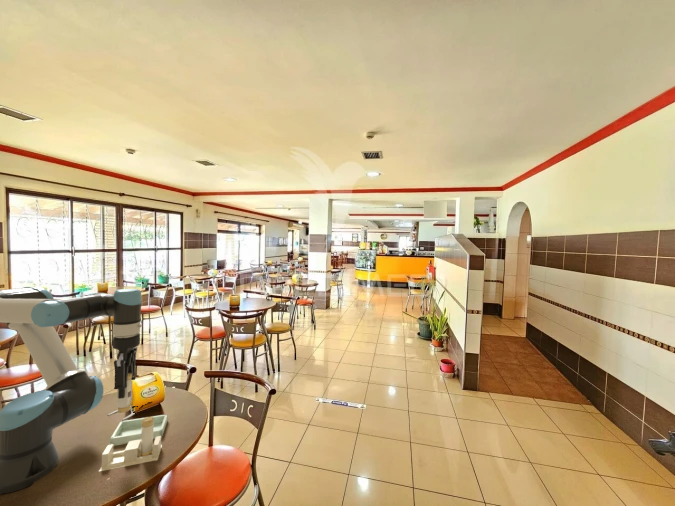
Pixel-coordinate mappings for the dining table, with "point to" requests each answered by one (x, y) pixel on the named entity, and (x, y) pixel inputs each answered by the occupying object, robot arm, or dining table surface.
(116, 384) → the robot arm
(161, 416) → the parts tray
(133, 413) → the pliers
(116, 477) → the dining table surface
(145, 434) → the fuse
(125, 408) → the fuse
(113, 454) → the fuse holder
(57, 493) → the dining table surface
